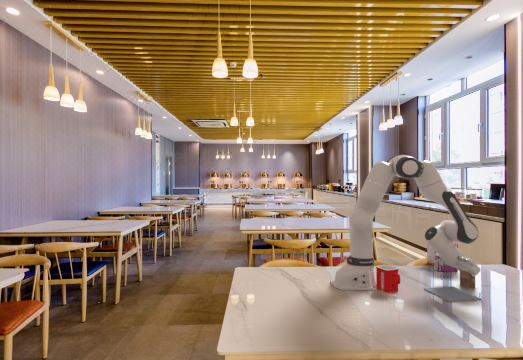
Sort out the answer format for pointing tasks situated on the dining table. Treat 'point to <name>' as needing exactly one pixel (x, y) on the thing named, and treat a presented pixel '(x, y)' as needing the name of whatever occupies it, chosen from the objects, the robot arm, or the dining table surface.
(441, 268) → the candy bar box
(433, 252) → the cracker box
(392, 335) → the dining table surface
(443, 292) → the rubber mat
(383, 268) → the mug
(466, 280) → the walnut block
